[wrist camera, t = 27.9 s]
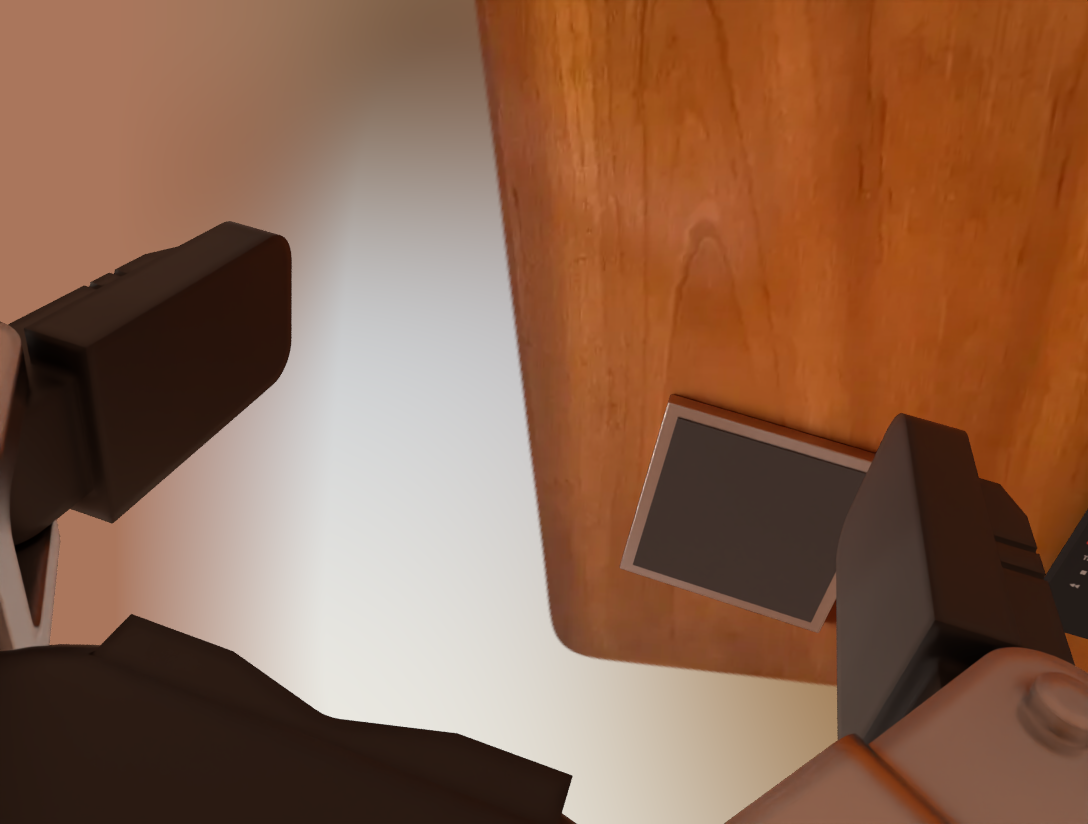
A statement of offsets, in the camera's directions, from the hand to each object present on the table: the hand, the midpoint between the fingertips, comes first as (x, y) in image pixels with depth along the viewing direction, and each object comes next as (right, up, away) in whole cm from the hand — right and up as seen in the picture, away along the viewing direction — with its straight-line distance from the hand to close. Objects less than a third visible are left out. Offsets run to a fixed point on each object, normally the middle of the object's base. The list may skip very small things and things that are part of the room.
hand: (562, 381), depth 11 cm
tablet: (+11, -6, +36) cm, 39 cm away
